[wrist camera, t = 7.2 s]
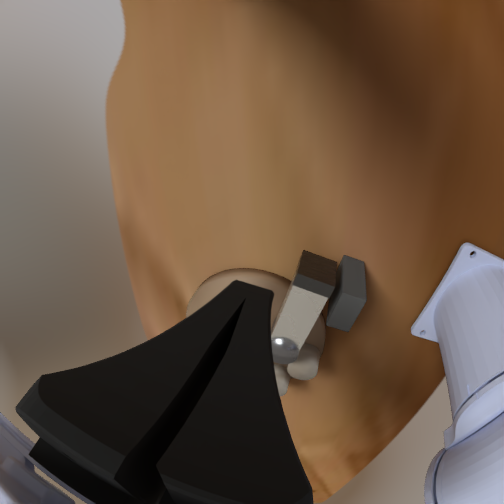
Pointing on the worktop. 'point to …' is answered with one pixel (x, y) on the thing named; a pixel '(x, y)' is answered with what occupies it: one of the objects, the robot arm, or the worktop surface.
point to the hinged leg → (302, 306)
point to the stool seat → (279, 285)
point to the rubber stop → (347, 294)
